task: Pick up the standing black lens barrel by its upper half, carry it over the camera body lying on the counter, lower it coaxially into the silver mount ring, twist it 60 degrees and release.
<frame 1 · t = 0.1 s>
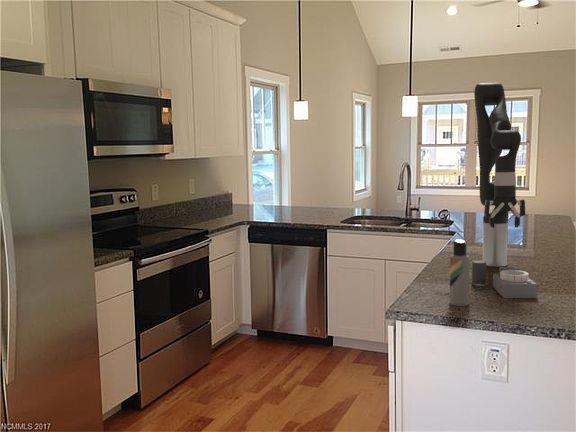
hand: (504, 227, 206), 17 cm above the worktop, tool pointing down, fingers open, 8 cm apart
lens: (478, 284, 191), on the worktop
camera body: (513, 292, 180), on the worktop
lotion bottle: (459, 304, 169), on the worktop
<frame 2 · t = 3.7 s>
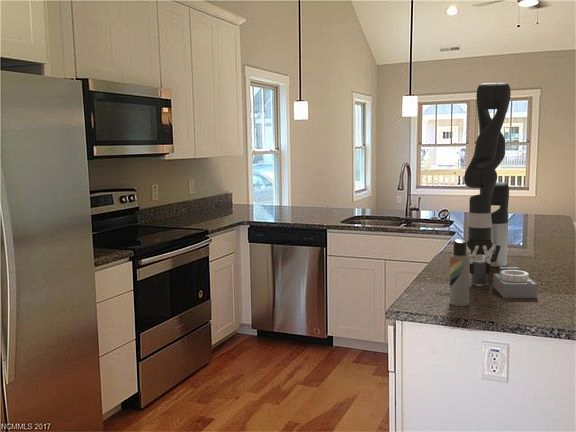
hand: (478, 273, 191), 4 cm above the worktop, tool pointing down, fingers closed on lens, 4 cm apart
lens: (478, 284, 191), on the worktop, touching gripper
everything else where it was.
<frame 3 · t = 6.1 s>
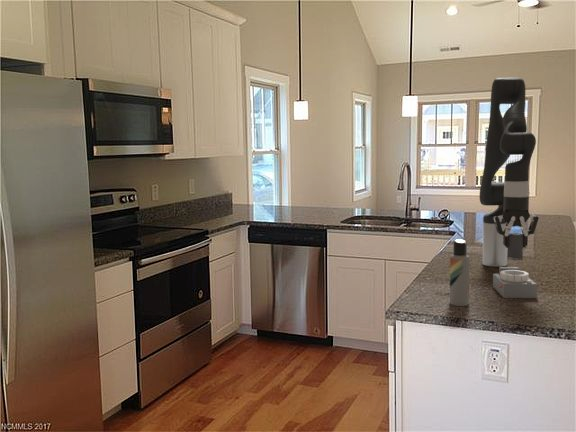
hand: (515, 247, 178), 15 cm above the worktop, tool pointing down, fingers closed on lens, 4 cm apart
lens: (514, 258, 179), point 11 cm above the worktop, touching gripper
everything else where it was.
when the fingers open (9 cm above the worktop, at t = 8.6 s): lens stays where it is, resting on camera body.
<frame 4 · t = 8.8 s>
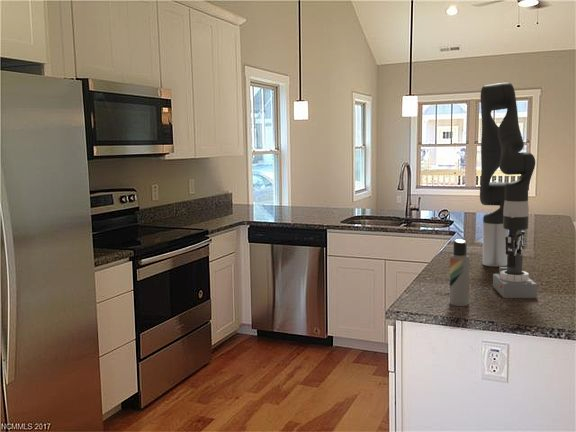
hand: (514, 265, 179), 9 cm above the worktop, tool pointing down, fingers open, 6 cm apart
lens: (514, 278, 180), point 5 cm above the worktop, touching camera body
everything else where it was.
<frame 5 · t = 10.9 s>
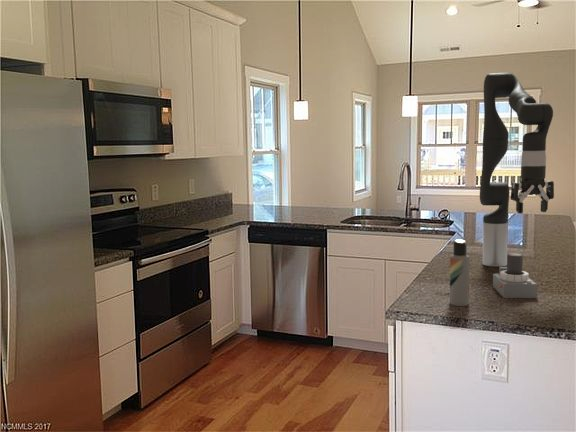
hand: (531, 212, 184), 25 cm above the worktop, tool pointing down, fingers open, 8 cm apart
nothing on the worktop moved.
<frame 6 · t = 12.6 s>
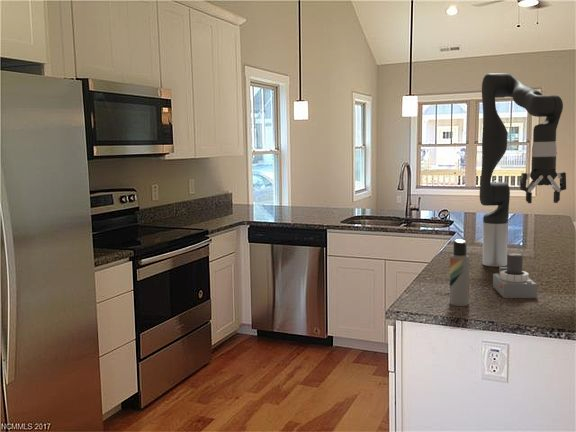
hand: (542, 202, 187), 28 cm above the worktop, tool pointing down, fingers open, 8 cm apart
nothing on the worktop moved.
at the end: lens 0.2 cm off-centre on the camera body, point 4.5 cm above the camera body's base; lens tilted 0°; the gripper is holding nothing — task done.
